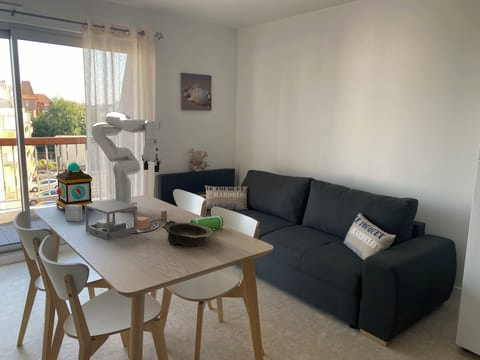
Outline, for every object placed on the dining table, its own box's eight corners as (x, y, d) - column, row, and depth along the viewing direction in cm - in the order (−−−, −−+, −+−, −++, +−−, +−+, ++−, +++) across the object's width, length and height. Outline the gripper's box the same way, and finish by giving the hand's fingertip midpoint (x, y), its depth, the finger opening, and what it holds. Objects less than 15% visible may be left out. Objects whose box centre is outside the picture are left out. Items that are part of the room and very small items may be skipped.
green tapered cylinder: (218, 226, 208) (218, 213, 206) (223, 230, 202) (224, 217, 200) (189, 230, 199) (189, 217, 198) (194, 234, 193) (194, 220, 191)
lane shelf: (114, 224, 204) (113, 199, 201) (136, 232, 192) (136, 206, 189) (85, 231, 190) (84, 204, 188) (108, 240, 179) (107, 212, 176)
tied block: (162, 219, 216) (162, 209, 215) (169, 221, 213) (169, 211, 212) (133, 227, 200) (133, 216, 199) (140, 229, 196) (140, 218, 195)
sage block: (106, 227, 198) (106, 218, 197) (113, 229, 194) (113, 220, 194) (96, 230, 193) (96, 221, 192) (103, 232, 190) (103, 223, 189)
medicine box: (82, 219, 210) (82, 205, 208) (78, 221, 205) (78, 207, 204) (69, 218, 210) (69, 204, 209) (65, 220, 206) (64, 206, 204)
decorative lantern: (85, 203, 245) (83, 159, 239) (97, 210, 231) (95, 163, 225) (53, 207, 231) (51, 161, 226) (64, 215, 217) (61, 165, 212)
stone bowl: (151, 244, 175) (152, 225, 174) (182, 234, 197) (183, 217, 196) (193, 254, 164) (194, 234, 163) (221, 242, 186) (223, 224, 185)
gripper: (166, 143, 211) (166, 172, 214) (146, 140, 221) (146, 168, 224) (156, 143, 205) (156, 173, 208) (136, 141, 215) (136, 169, 218)
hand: (151, 170), depth 216 cm, fingers open, 9 cm apart
